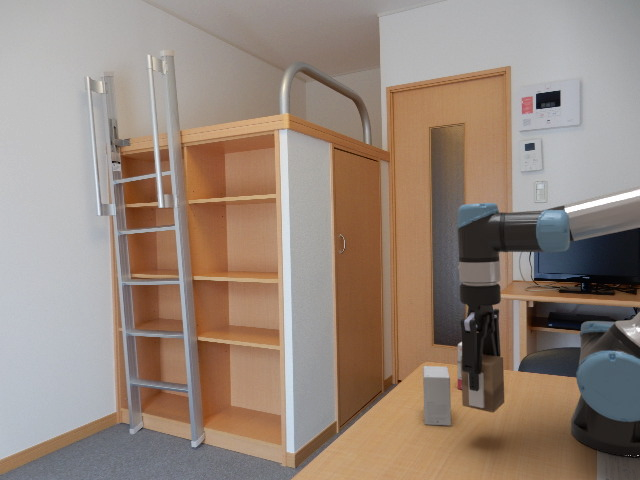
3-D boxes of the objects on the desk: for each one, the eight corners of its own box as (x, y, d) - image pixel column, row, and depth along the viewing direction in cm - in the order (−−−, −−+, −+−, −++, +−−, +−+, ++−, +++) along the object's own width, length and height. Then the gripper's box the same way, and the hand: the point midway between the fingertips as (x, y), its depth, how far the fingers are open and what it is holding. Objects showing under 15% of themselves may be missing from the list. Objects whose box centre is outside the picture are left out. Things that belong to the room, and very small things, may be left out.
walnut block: (504, 402, 93) (503, 357, 92) (493, 412, 88) (491, 365, 88) (474, 396, 96) (473, 352, 96) (462, 405, 92) (460, 360, 92)
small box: (451, 426, 100) (450, 377, 99) (424, 425, 101) (423, 376, 101) (448, 411, 108) (448, 366, 107) (423, 410, 109) (422, 365, 108)
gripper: (479, 276, 101) (483, 383, 102) (439, 288, 87) (443, 412, 87) (515, 278, 96) (519, 389, 97) (479, 290, 82) (483, 421, 82)
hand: (483, 400), depth 92 cm, fingers closed on walnut block, 6 cm apart
